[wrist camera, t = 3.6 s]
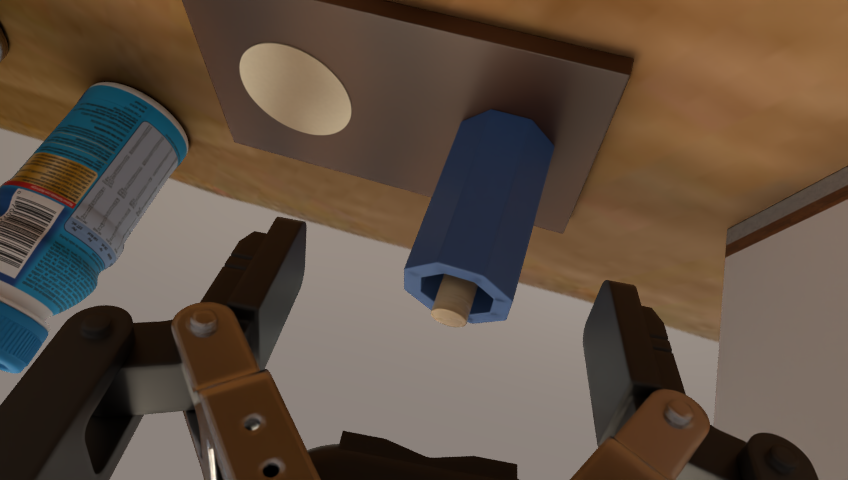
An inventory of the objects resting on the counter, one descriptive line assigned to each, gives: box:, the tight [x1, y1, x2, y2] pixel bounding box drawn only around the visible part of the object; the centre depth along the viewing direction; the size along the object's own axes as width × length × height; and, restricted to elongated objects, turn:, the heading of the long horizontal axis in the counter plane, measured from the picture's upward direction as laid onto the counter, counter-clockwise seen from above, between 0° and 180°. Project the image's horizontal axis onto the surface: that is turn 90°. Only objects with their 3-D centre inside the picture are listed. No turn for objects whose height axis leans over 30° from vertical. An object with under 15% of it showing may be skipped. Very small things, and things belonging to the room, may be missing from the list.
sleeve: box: [404, 109, 554, 323], centre depth 32 cm, size 5×5×10 cm
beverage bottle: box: [0, 82, 189, 373], centre depth 42 cm, size 8×8×20 cm
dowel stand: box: [182, 0, 634, 327], centre depth 33 cm, size 24×14×12 cm, turn 87°
